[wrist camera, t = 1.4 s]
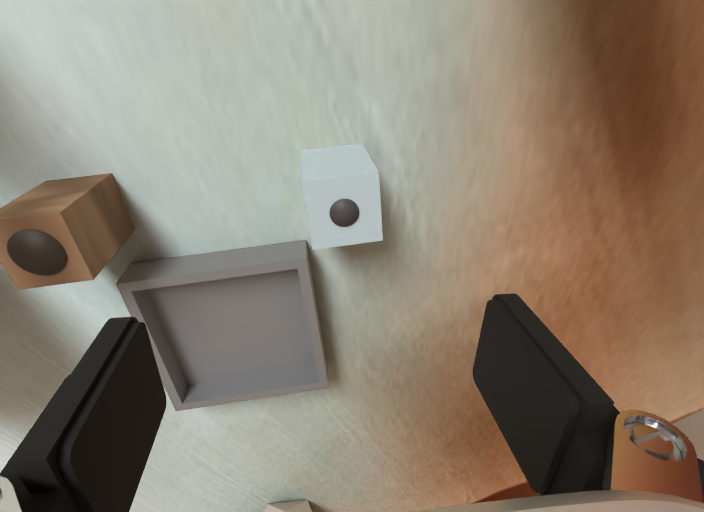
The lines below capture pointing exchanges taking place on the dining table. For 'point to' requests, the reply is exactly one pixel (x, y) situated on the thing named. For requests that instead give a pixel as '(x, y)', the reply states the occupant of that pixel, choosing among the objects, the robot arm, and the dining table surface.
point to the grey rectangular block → (341, 196)
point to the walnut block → (63, 231)
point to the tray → (230, 323)
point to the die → (289, 507)
